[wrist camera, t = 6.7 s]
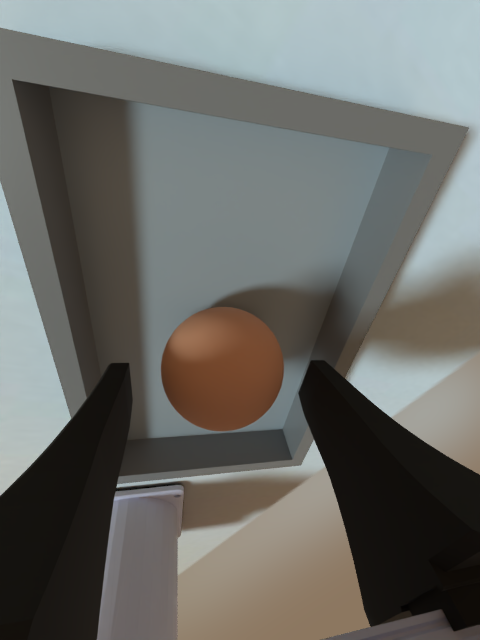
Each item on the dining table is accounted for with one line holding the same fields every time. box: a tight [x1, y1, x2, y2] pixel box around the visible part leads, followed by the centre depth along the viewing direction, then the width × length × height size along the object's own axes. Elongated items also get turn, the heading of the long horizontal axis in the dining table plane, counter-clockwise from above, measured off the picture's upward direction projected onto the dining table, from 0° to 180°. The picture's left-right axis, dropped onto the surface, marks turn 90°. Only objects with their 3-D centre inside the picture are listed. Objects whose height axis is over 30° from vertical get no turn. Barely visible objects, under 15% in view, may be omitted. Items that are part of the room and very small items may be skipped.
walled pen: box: [0, 28, 469, 484], centre depth 13 cm, size 19×13×2 cm
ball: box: [161, 307, 284, 431], centre depth 12 cm, size 5×5×5 cm
